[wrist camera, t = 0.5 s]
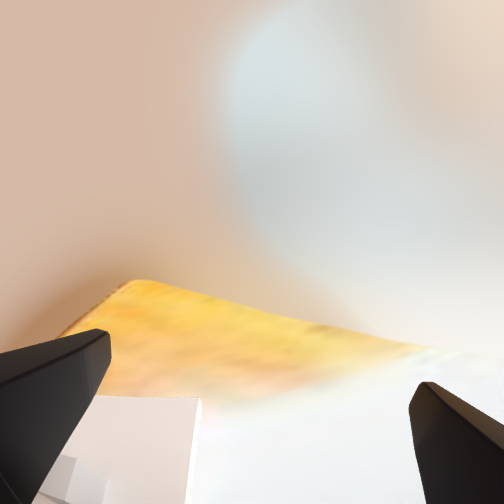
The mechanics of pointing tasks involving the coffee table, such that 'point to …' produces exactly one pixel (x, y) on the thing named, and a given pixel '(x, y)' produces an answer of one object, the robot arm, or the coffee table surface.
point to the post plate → (127, 453)
